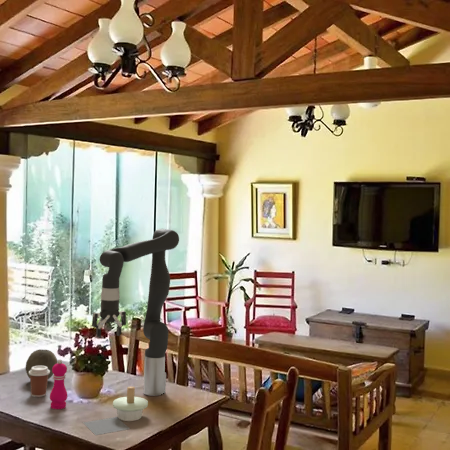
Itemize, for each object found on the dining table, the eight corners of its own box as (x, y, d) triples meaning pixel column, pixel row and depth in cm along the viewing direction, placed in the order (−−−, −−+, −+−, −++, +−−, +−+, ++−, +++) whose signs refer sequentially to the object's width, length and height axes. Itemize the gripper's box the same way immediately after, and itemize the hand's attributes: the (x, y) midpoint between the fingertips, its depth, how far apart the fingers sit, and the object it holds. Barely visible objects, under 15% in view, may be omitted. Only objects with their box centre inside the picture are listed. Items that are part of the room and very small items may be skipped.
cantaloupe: (51, 386, 279) (52, 354, 278) (20, 385, 279) (21, 353, 279) (60, 377, 293) (61, 347, 293) (31, 376, 293) (32, 345, 293)
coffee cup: (51, 391, 273) (52, 365, 272) (46, 398, 263) (47, 371, 263) (31, 390, 272) (32, 364, 272) (25, 397, 263) (26, 370, 263)
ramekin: (130, 425, 237) (131, 412, 237) (109, 418, 243) (110, 405, 243) (149, 417, 247) (149, 404, 247) (128, 411, 253) (128, 398, 253)
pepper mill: (62, 410, 249) (63, 362, 248) (46, 408, 251) (47, 361, 250) (70, 405, 256) (71, 358, 255) (54, 403, 258) (56, 356, 257)
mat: (116, 417, 244) (116, 416, 244) (130, 429, 232) (130, 428, 232) (82, 423, 236) (82, 422, 236) (95, 436, 225) (95, 435, 225)
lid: (139, 397, 255) (139, 380, 254) (153, 408, 243) (154, 390, 242) (107, 402, 247) (108, 384, 247) (120, 413, 235) (121, 395, 235)
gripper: (122, 296, 261) (121, 333, 262) (90, 297, 254) (89, 335, 254) (129, 298, 255) (127, 336, 256) (97, 300, 247) (95, 339, 248)
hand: (108, 336), depth 255 cm, fingers open, 8 cm apart
